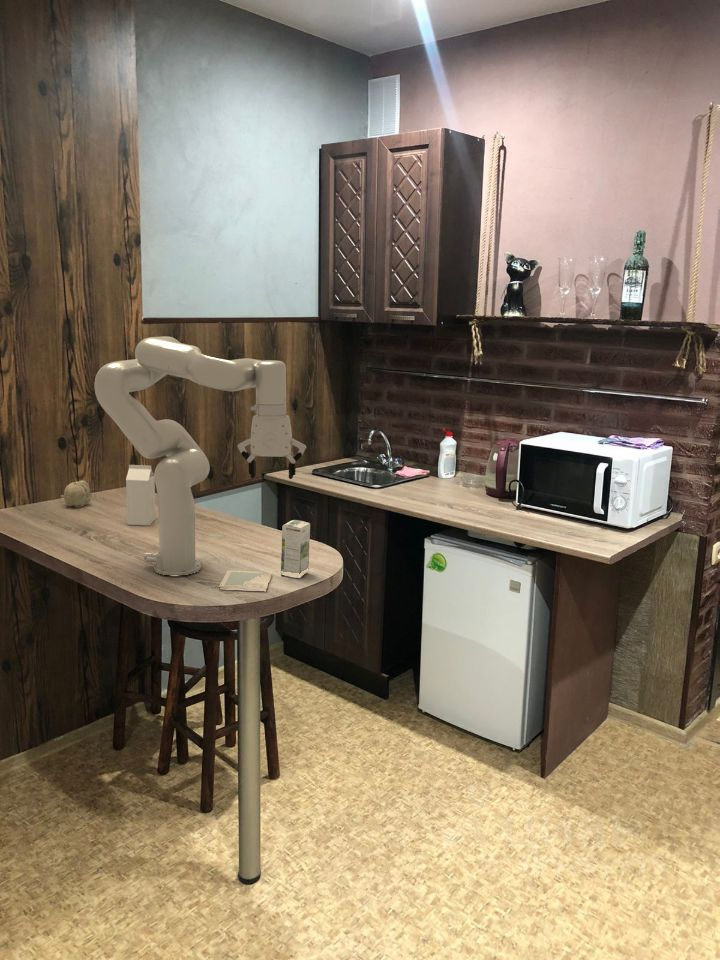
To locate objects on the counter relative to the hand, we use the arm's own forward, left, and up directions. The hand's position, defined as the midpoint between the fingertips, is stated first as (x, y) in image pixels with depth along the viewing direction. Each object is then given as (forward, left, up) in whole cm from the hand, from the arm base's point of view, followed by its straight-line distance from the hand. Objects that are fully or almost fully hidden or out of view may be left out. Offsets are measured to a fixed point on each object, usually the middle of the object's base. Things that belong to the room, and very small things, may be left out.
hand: (272, 477), depth 202 cm
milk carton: (-48, +50, -29) cm, 75 cm away
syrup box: (+6, +8, -29) cm, 30 cm away
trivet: (-6, 0, -29) cm, 29 cm away
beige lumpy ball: (-75, +66, -29) cm, 104 cm away
